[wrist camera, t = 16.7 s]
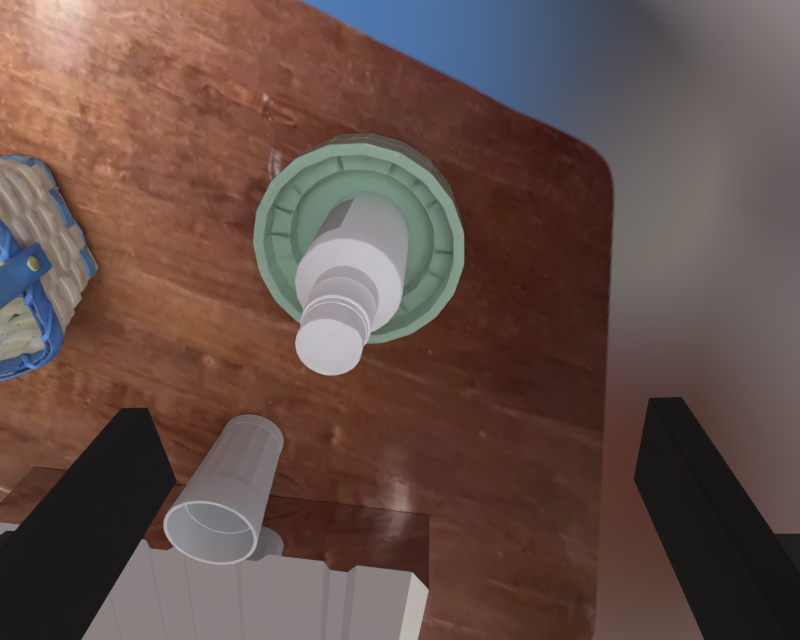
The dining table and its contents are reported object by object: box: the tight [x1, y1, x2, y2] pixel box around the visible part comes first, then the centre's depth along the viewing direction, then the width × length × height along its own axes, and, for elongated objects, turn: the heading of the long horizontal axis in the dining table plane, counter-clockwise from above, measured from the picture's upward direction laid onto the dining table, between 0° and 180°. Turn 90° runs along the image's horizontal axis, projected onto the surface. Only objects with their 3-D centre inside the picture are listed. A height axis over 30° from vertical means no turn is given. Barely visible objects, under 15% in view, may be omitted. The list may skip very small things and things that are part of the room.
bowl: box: [253, 133, 464, 343], centre depth 40 cm, size 16×16×5 cm
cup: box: [163, 414, 284, 565], centre depth 48 cm, size 8×8×12 cm
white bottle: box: [295, 192, 409, 375], centre depth 34 cm, size 7×7×18 cm
